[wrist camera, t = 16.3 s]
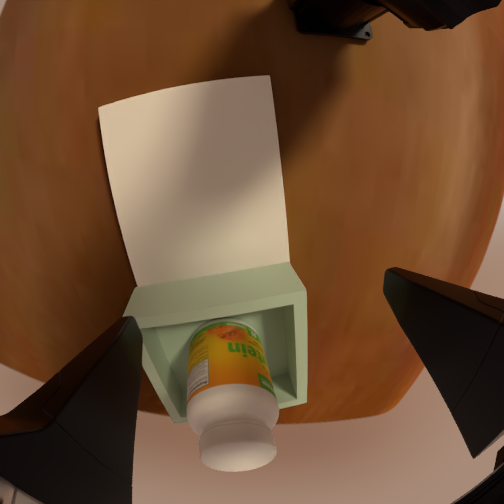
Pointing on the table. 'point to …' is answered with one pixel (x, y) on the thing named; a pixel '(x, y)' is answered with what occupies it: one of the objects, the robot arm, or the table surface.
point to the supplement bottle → (231, 396)
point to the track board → (197, 179)
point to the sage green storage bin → (217, 307)
